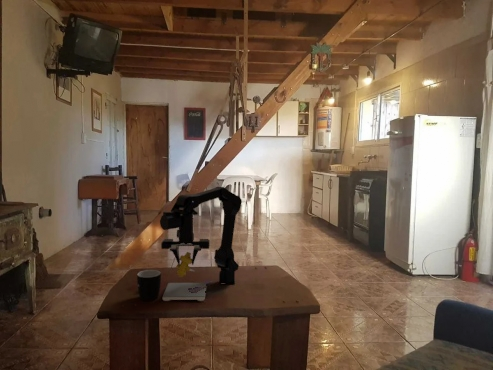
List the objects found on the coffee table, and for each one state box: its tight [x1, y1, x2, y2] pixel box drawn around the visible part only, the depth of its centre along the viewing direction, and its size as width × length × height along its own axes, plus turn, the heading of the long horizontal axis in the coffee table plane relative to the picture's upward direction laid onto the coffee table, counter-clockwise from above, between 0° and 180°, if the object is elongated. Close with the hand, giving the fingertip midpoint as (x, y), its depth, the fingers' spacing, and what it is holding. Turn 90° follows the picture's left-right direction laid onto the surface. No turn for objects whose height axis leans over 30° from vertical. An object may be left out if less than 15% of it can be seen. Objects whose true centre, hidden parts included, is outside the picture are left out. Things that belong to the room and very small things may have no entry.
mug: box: [136, 269, 162, 302], centre depth 140 cm, size 12×9×10 cm
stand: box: [162, 282, 207, 302], centre depth 147 cm, size 16×15×2 cm
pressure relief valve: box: [175, 251, 195, 278], centre depth 149 cm, size 6×12×10 cm, turn 162°
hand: (185, 264), depth 146 cm, fingers closed on pressure relief valve, 5 cm apart
